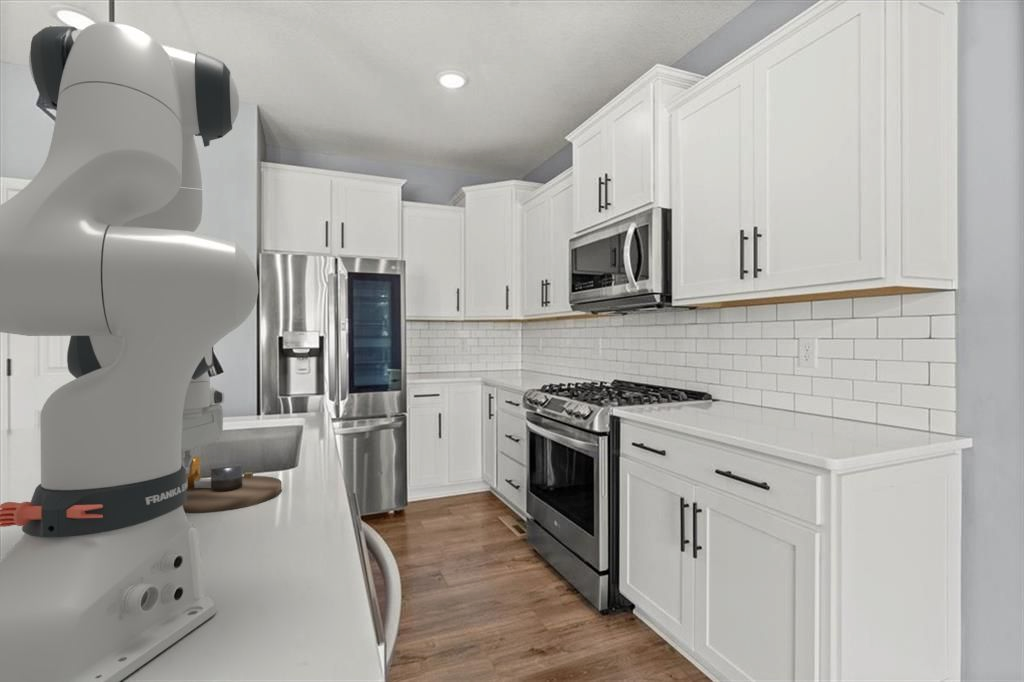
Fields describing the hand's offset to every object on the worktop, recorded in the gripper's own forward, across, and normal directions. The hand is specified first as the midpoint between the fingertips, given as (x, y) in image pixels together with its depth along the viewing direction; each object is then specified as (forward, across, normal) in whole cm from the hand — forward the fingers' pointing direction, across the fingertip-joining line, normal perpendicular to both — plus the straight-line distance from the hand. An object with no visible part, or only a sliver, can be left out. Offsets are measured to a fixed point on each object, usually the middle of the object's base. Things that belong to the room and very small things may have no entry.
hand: (181, 476), depth 92 cm
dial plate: (+4, +2, -7) cm, 8 cm away
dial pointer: (+3, +2, -4) cm, 5 cm away
